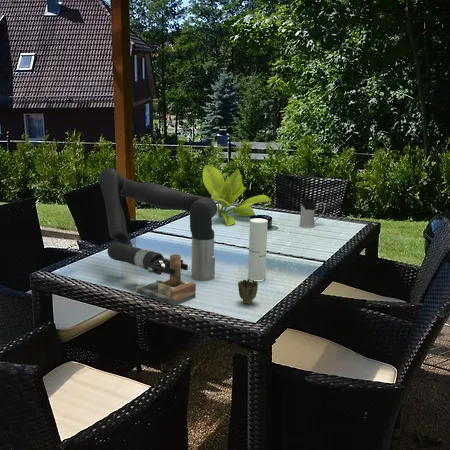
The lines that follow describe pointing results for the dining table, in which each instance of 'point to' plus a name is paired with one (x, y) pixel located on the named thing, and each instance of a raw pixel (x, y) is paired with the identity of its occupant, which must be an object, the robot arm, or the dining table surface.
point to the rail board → (155, 288)
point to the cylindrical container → (257, 249)
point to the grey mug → (308, 213)
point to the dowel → (176, 265)
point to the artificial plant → (229, 193)
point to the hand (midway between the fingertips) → (180, 269)
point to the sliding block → (167, 287)
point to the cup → (247, 290)
